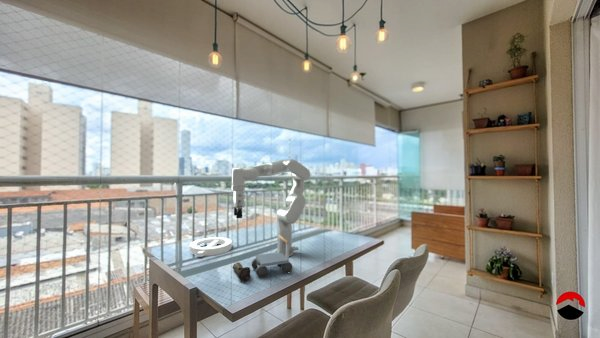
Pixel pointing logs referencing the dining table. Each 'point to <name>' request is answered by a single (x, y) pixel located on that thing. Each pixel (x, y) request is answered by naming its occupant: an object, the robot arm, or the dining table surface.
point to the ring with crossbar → (211, 246)
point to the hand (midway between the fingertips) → (237, 216)
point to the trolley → (272, 261)
